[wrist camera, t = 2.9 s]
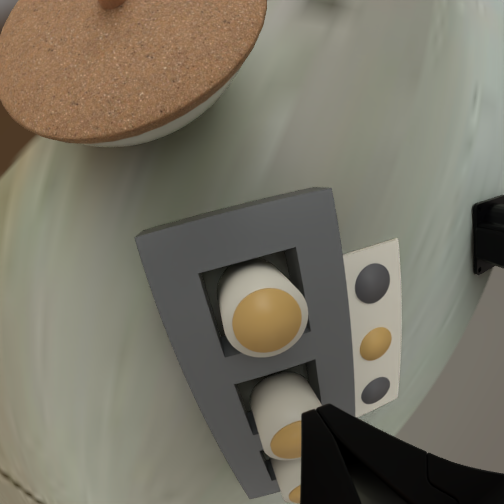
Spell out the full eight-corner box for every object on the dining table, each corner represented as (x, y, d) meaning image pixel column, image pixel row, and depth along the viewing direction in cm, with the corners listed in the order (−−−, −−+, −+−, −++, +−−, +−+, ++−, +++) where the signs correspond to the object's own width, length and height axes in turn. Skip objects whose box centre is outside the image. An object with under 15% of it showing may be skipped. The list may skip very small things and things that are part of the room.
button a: (277, 250, 17) (302, 269, 13) (290, 311, 18) (314, 344, 14) (208, 268, 16) (213, 294, 12) (227, 330, 17) (236, 369, 13)
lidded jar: (41, 67, 12) (-39, 8, 3) (186, -17, 13) (190, -118, 3) (110, 198, 15) (18, 214, 6) (271, 100, 15) (347, 24, 6)
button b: (305, 363, 17) (332, 405, 13) (313, 406, 18) (336, 447, 14) (242, 383, 17) (256, 431, 13) (257, 424, 18) (271, 469, 14)
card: (395, 238, 19) (399, 239, 18) (395, 395, 22) (398, 398, 22) (333, 257, 18) (336, 259, 18) (348, 418, 22) (350, 421, 21)
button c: (316, 431, 19) (337, 470, 15) (320, 457, 20) (338, 492, 16) (265, 448, 18) (279, 490, 14) (275, 472, 19) (287, 510, 15)
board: (313, 187, 17) (331, 187, 14) (344, 447, 23) (354, 464, 20) (143, 230, 16) (134, 237, 13) (245, 479, 22) (249, 499, 19)
